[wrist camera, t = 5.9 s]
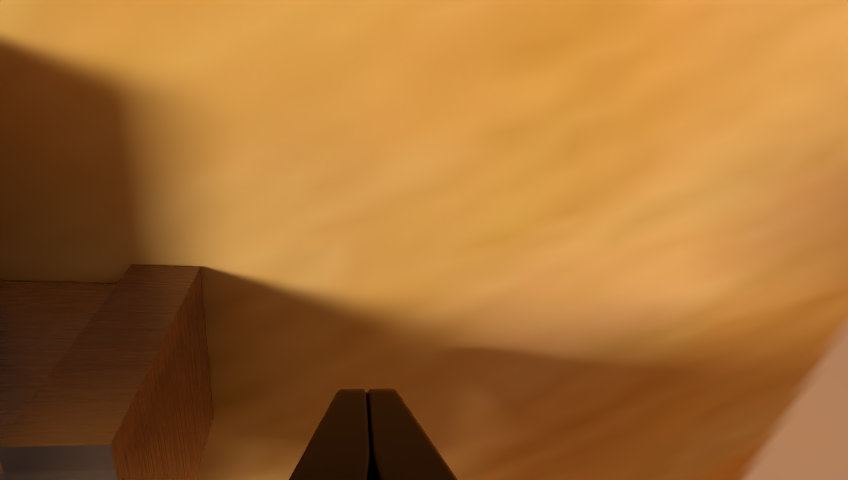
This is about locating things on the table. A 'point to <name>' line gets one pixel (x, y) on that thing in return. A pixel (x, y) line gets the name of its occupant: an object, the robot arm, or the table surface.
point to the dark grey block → (104, 377)
